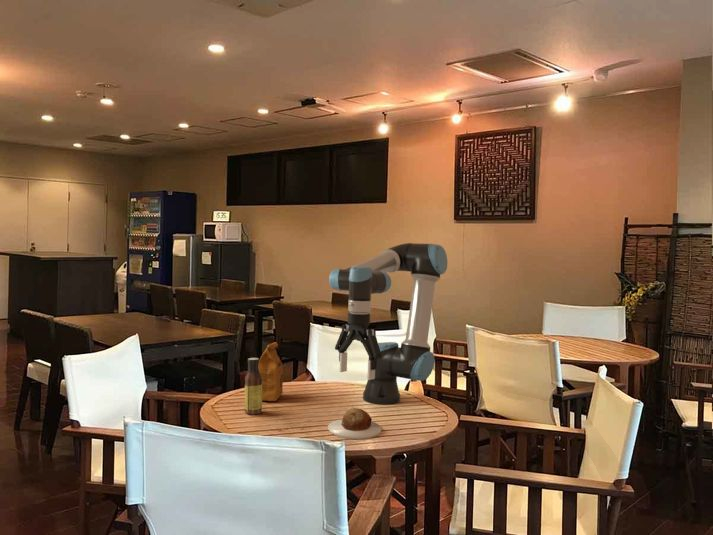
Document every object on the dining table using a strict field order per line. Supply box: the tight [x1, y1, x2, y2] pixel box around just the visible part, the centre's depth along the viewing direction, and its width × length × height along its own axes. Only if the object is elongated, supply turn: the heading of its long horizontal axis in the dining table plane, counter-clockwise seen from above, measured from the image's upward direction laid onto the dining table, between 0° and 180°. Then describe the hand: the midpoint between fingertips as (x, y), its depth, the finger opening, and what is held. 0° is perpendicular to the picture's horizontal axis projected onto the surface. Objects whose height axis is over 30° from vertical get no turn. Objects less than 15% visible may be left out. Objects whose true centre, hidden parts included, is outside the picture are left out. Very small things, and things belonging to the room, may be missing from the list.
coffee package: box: [258, 341, 284, 402], centre depth 237 cm, size 10×12×22 cm
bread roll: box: [341, 407, 373, 431], centre depth 203 cm, size 10×10×8 cm
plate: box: [327, 418, 382, 440], centre depth 203 cm, size 18×18×1 cm
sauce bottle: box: [244, 357, 263, 415], centre depth 218 cm, size 7×6×20 cm
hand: (356, 375), depth 202 cm, fingers open, 13 cm apart
